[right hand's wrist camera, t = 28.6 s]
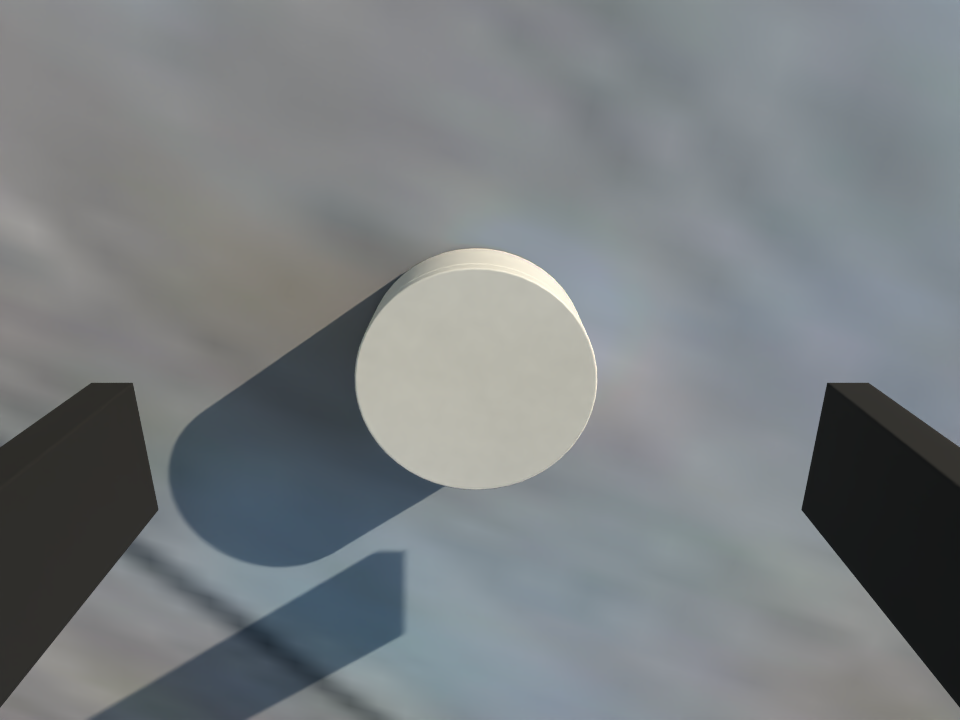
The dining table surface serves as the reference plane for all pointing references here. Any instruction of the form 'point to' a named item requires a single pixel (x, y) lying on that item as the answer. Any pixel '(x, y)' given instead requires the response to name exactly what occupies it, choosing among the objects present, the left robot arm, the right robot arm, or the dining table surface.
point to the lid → (475, 370)
